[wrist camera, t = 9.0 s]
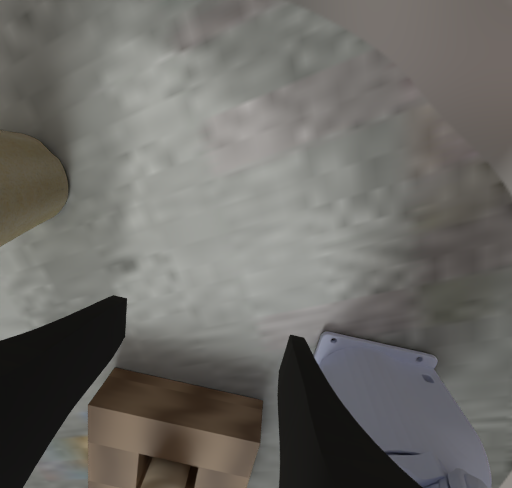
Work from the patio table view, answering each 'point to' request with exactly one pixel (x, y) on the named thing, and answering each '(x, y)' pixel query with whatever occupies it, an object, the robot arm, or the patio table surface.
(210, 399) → the socket block
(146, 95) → the patio table surface
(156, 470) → the peg
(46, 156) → the flower pot
